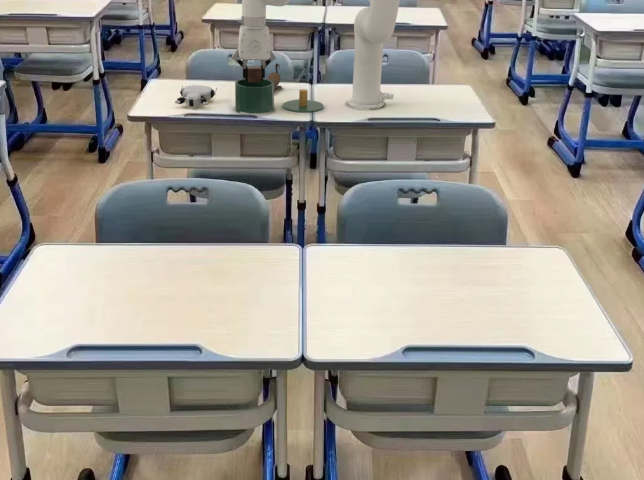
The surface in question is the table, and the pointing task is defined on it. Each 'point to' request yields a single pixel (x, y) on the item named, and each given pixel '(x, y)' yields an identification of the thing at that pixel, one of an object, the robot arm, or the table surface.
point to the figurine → (275, 79)
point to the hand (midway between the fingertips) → (253, 79)
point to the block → (254, 73)
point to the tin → (254, 96)
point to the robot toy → (196, 95)
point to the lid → (303, 104)
